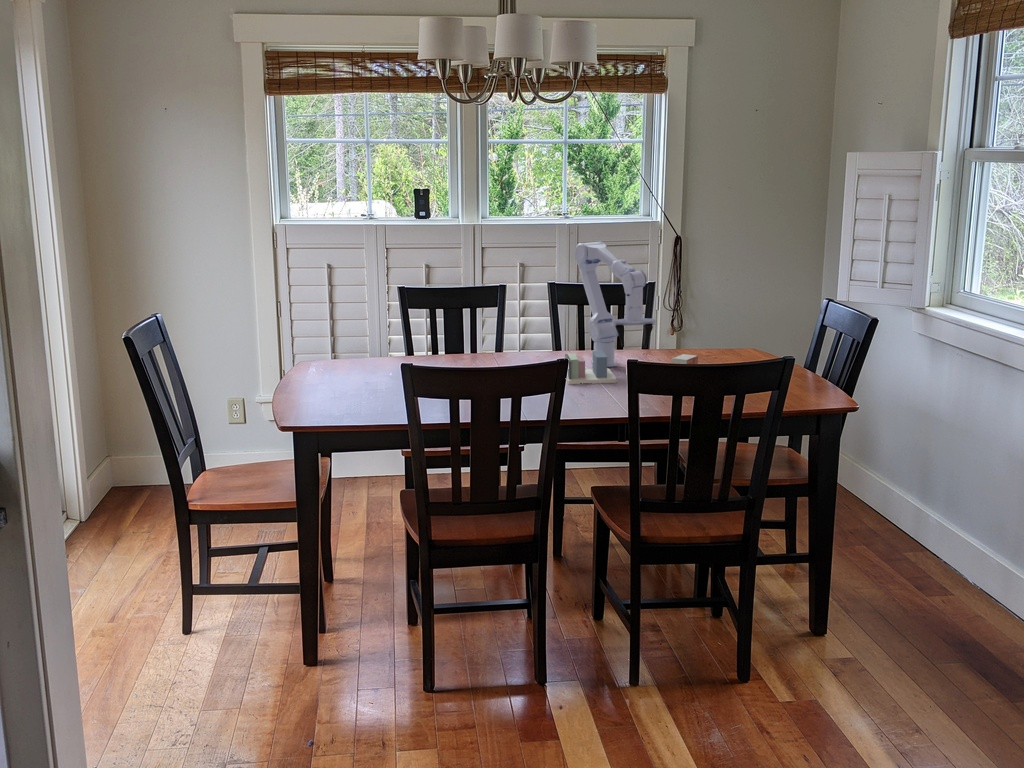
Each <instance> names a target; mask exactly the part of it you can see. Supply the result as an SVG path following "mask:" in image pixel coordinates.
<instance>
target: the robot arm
mask: <svg viewBox="0 0 1024 768" xmlns="http://www.w3.org/2000/svg"><path fill="white" fill-rule="evenodd" d="M573 254H574V258H575V260H576V264H577V267H578V269H579V273H580V277H581V280H582V285H583V288H584V291H585V294H586V297H587V301H588V304H589V308H590V311H591V315H592V316H591V317H590V319H589V320H588V322H587V324H588V333H589V334H588V335H589V336H590V338H591V340H592V341H593V351H603V352H604V353H605V355H606V356H607V368H608V367H609V368H611V367H613V368H615V367H618V366H617V363H616V362H615V341H616V340H617V337H618V338H619V341H620V346H621V347H622V348H624V347H625V327H626V326H642V327H643V328H642V329H643V339H642V341H643V342H642V346H643V347H647V345H648V340H649V337H650V336H651V333H652V331H653V329H654V326H656V323H657V322H656V321H657V320H656V319H655V318H645V317H643V313H644V312H643V311H644V310H643V309H644V307H643V304H644V302H643V299H644V287H645V286H646V285H647V281H648V278H647V275H646V273H645V272H644V271H643V270H641V269H640V270H639V269H638V270H637V269H636V268H635V267H633V266H631V265H630V264H629V263H627V260H626V259H618V258H617V257H616V256H615V255H613V254H612V253H611V251H610V250H609V249H608V246H607V244H605V243H604V242H603V241H601V240H600V241H593V242H579V243H578V244H576V246H575V250H574V253H573ZM601 263H603V264H605V265H607V266H608V267H609V268H611V273H612V274H613V275H614V276H616V278H617V279H619V280H620V281H621V283H622V286H623V290H624V291H623V292H624V294H625V318H621V319H620V318H619V319H615V316H614V315H613V314H612V313H610V312H609V311H608V310H607V306H606V303H605V299H604V297H603V293H602V289H601V286H600V281H599V279H598V275H597V271H596V270H597V268H598V267H600V264H601ZM624 326H625V327H624ZM590 362H591V364H592V365H593V359H592V360H591V361H590Z"/></svg>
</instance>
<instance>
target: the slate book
mask: <svg viewBox="0 0 1024 768" xmlns="http://www.w3.org/2000/svg"><path fill="white" fill-rule="evenodd" d="M591 354H592V360H593V364H592V369H593V373H594V374H595V376H596V378H607V368H608V367H607V356H606V355H605V353H604V352H603V351H594V350H592V353H591Z"/></svg>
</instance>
